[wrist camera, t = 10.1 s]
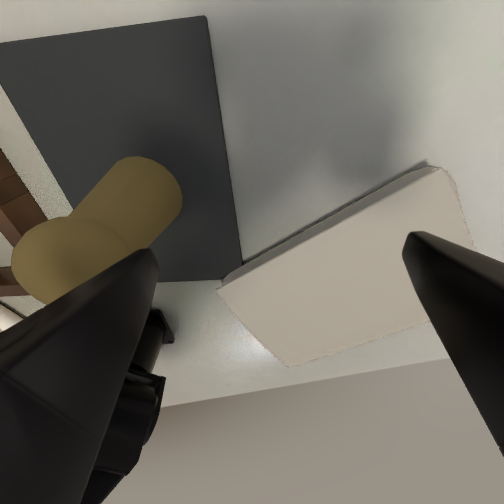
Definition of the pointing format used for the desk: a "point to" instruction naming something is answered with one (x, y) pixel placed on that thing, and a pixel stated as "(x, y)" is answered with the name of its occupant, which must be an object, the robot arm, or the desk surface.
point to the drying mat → (134, 126)
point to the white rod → (8, 318)
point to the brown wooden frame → (15, 220)
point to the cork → (98, 229)
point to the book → (345, 272)
